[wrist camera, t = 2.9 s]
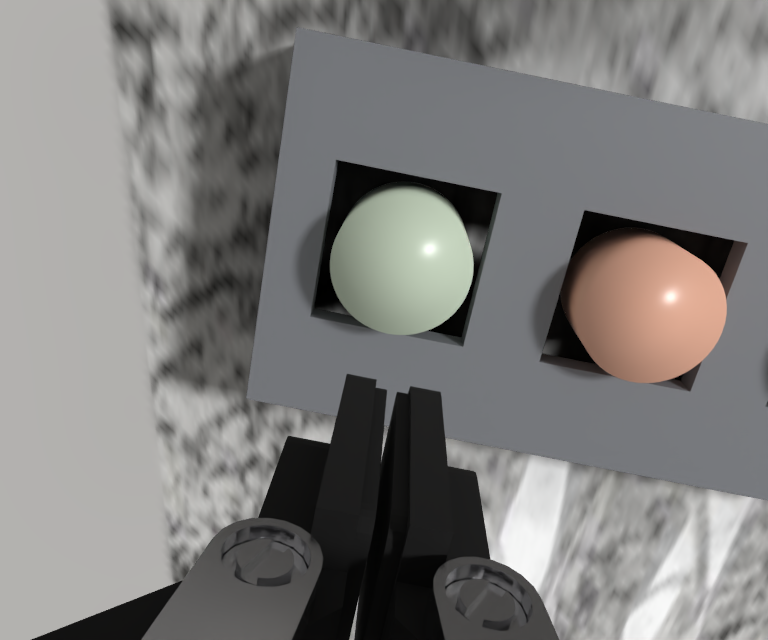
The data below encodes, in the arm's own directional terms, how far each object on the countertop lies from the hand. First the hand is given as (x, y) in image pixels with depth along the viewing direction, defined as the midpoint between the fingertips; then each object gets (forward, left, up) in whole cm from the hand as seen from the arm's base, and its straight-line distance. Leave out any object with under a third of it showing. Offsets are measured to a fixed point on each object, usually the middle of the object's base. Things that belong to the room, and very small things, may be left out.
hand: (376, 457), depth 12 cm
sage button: (0, 0, -16) cm, 16 cm away
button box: (-9, 0, -19) cm, 21 cm away
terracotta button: (-9, 0, -16) cm, 18 cm away
